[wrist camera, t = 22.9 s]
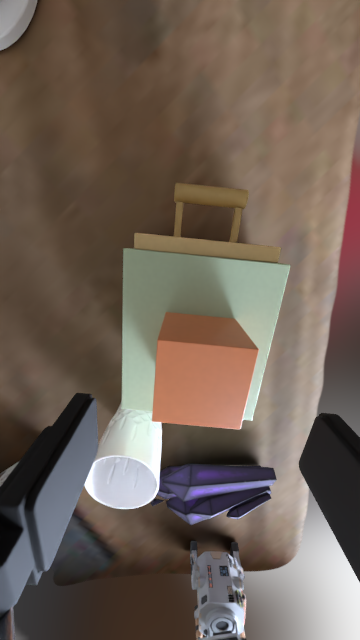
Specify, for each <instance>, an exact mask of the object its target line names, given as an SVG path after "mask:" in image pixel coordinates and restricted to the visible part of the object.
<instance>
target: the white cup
mask: <svg viewBox="0 0 360 640" xmlns="http://www.w3.org/2000/svg"><path fill="white" fill-rule="evenodd" d="M161 447H162V422H152V411H142V410H130V409H122V402H121V403H120V405H119V407H118V409H117V411H116V413H115V415H114V417H113V418H112V419H111V421H110V423H109V425H108V426H107V428H106V430H105V432H104V434H103V436H102V438H101V440H100V442H99V444H98V451H97V455H96V457H95V460H94V462H93V465H92V467H91V470H90V472H89V474H88V477H87V479H86V482H85V484H84V485H85V488H86V490H87V491H88V493H89V494H90V495H91V496H92V497H93V498H94V499H95V500H97V501H98V502H100V503H102V504H104V505H106V506H109V507H113V508H118V509H133V508H137V507H141V506H143V505H145V504H147V503H149V502H150V501H151V500H152V499H153V498H154V497H155V496H156V494H157V492H158V489H159V478H160V462H161Z"/></svg>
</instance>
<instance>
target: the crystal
mask: <svg viewBox="0 0 360 640" xmlns="http://www.w3.org/2000/svg"><path fill="white" fill-rule="evenodd" d="M276 480H277V479H276V476H275V472H274V469H273V468H268V467H261V466H228V465H208V464H185V465H184V466H168V467H167V468H165V469H163V470H161V471H160V478H159V489H158V492H157V494H156V495H158V496H160V497H162V498H164V499H169V500H168V501H167V502H166V504H167V507H168V508H169V509H170V510H172V511H173V512H174V513H175V514H177V515H178V516H179V517H181V518H182V519H183V520H184V521H186V522H187V523H188V524H190V525H193V524H195V523H198V522H200V521H203V520H205V519H210V518H212V517H214V516H216V515H218V514H220V513H223V512H225V511H228V510H229V512H228V513H227V517H229V518H234V519H239V518H241V517H242V516H244V515H245V514H247V513H249V512H250V511H252V510H253V509H255V508H257V507H258V506H260V505H261V504H263V503H265V502H266V501H268V500H269V499H271V497H270V494H271V490H270V488H269V486H270V485H273V484H274V482H275V481H276ZM163 501H165V500H159V499H154V500H153V501H152V502H151V505H152V506H154V505H157V504H159V503H161V502H163Z"/></svg>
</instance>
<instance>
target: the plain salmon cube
mask: <svg viewBox="0 0 360 640" xmlns="http://www.w3.org/2000/svg"><path fill="white" fill-rule="evenodd" d="M258 351H259V349H258V348H257V346H256V345H255V344H254V342H253V341H252V340H251V338H250V337H249V336H248V335H247V333H246V332H245V331H244V329H243V328H242V327H241V326H240V324H239V323H238V322H237V320H236V319H233V318H223V317H212V316H202V315H192V314H181V313H171V312H166V313H165V316H164V320H163V323H162V326H161V330H160V333H159V336H158V340H157V352H156V367H155V382H154V397H153V411H152V422H162V423H173V424H184V425H196V426H207V427H218V428H229V429H241V424H242V420H243V416H244V412H245V407H246V403H247V399H248V394H249V390H250V386H251V381H252V377H253V373H254V369H255V364H256V360H257V356H258Z"/></svg>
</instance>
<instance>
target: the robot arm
mask: <svg viewBox="0 0 360 640" xmlns="http://www.w3.org/2000/svg"><path fill="white" fill-rule="evenodd" d="M37 1H38V0H0V50H3V49H6V48H7V47H9V46H10V45H12V44H13V43H14V42H16V41H17V40H18V39H19V37H20V36H21V35H22V34H23V33H24V31H25V30H26V29H27V27H28V25H29V23H30V21H31V19H32V17H33V15H34V11H35V8H36V5H37ZM97 451H98V430H97V406H96V398H92V394H84V393H76V394H75V395H74V397H73V398H72V400H71V401H70V402H69V404H68V405H67V406H66V408H65V409H64V411H63V412H62V413H61V415H60V416H59V417H58V419H57V420H56V422H55V423H54V424H53V426H48V427H46V428H45V429H44V430H43V431H42V432H41V434H40V435H39V436H38V438H37V439H36V440H35V442H34V443H33V444H32V445H31V447H30V448H29V449H28V451H27V452H26V453H25V455H24V456H23V457H22V459H21V460H20V461H19V463H18V464H17V465H16V467H15V468H14V469H13V470H12V472H11V473H10V474H9V476H8V477H7V478H6V480H5V481H4V482H3V484H2V485H1V486H0V640H15V629H14V613H13V606H14V605H15V604H16V603H17V601H18V599H19V597H20V595H21V593H22V590H23V588H24V586H25V585H37V583H38V581H39V579H40V577H41V574H42V572H43V571H47V570H48V569H49V568H50V566H51V564H52V562H53V560H54V557H55V555H56V552H57V550H58V547H59V545H60V543H61V540H62V538H63V535H64V533H65V530H66V528H67V526H68V523H69V521H70V518H71V516H72V513H73V511H74V509H75V506H76V504H77V501H78V499H79V496H80V494H81V492H82V489H83V487H84V484H85V482H86V479H87V477H88V474H89V472H90V470H91V467H92V465H93V462H94V460H95V457H96V455H97ZM299 468H300V471H301V473H302V475H303V477H304V479H305V481H306V482H307V484H308V486H309V488H310V490H311V492H312V493H313V496H314V497H315V499H316V501H317V503H318V505H319V507H320V509H321V510H322V512H323V514H324V516H325V518H326V520H327V522H328V524H329V526H330V527H331V529H332V531H333V533H334V535H335V537H336V539H337V541H338V542H339V544H340V546H341V548H342V550H343V552H344V554H345V556H346V557H347V559H348V561H349V563H350V565H351V567H352V569H353V571H354V572H355V574H356V576H357V578H358V580H359V581H360V437H358V435H357V434H356V433H355V432H354V431H353V430H352V429H351V428H350V427H349V426H348V425H347V424H346V423H345V422H344V420H342V418H341V417H340V416H338V415H336V414H327V413H321V414H320V415H319V416H318V417H316V418H315V421H314V423H313V426H312V429H311V431H310V434H309V437H308V439H307V442H306V445H305V447H304V450H303V453H302V455H301V458H300V460H299Z"/></svg>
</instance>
